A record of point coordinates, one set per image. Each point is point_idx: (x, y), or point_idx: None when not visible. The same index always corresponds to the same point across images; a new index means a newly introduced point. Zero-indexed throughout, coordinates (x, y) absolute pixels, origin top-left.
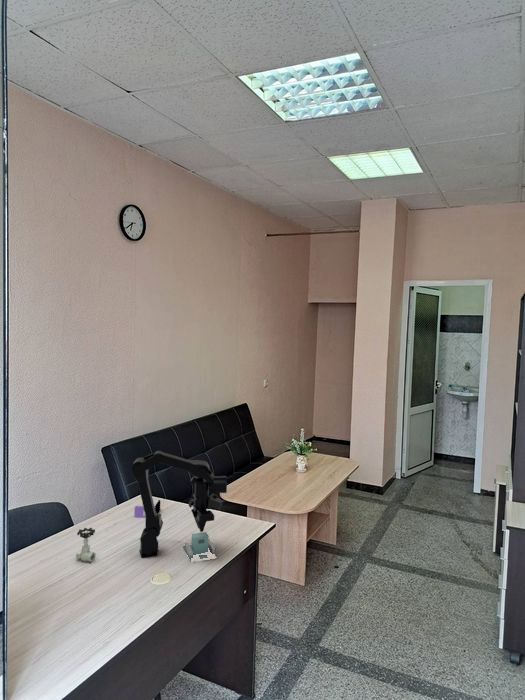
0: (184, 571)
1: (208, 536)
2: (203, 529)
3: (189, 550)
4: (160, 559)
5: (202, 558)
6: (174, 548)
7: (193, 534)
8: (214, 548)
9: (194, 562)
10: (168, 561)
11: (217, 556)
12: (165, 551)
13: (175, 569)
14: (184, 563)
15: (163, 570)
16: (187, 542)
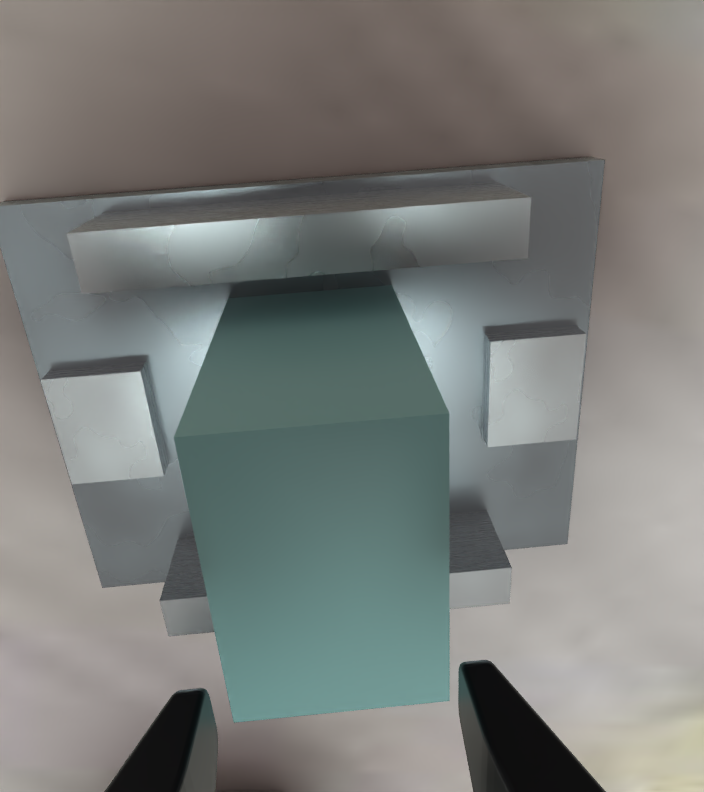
0: (692, 599)
1: (444, 410)
2: (535, 717)
3: None
4: (355, 769)
5: (574, 408)
6: (116, 652)
7: (265, 699)
8: (515, 210)
9: None
10: (420, 714)
11: (492, 131)
12: None
13: (610, 668)
14: (522, 585)
15: (580, 753)
16: (168, 608)
